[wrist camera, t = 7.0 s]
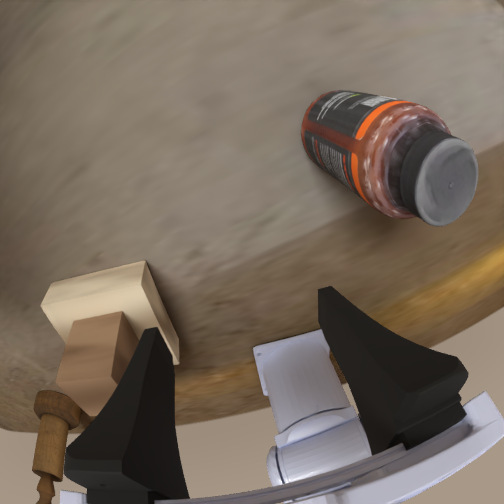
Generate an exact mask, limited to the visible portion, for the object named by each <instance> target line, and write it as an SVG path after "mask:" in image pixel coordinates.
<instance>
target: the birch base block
mask: <svg viewBox="0 0 504 504" xmlns="http://www.w3.org/2000/svg"><path fill="white" fill-rule="evenodd" d="M40 306H41V308H42V309H43V311H44V313H45V314H46V316H47V317H48V319H49V320H50V322H51V323H52V325H53V326H54V328H55V329H56V330H57V332H58V333H59V335H60V336H61V338H62V339H63V340H64V342H65V343H67V339H68V336H69V333H70V330H71V327H72V324H73V321H75V320H80V319H85V318H90V317H95V316H100V315H105V314H109V313H114V312H119V311H123V313H124V315H125V317H126V319H127V320H128V322H129V324H130V325H131V327H132V329H133V331H134V332H135V334H136V336H137V337H138V339H139V340H140V338H141V336H142V334H143V331H144V330H145V329H148V328H153V327H158V329H159V331H160V333H161V335H162V336H163V338H164V340H165V342H166V344H167V346H168V348H169V350H170V352H171V353H172V355H173V364H174V365H177V364H179V338H178V336H177V334H176V332H175V330H174V327H173V325H172V323H171V321H170V319H169V316H168V314H167V312H166V309H165V307H164V305H163V303H162V300H161V298H160V295H159V293H158V291H157V288H156V286H155V283H154V281H153V279H152V276H151V274H150V271H149V269H148V266H147V263H146V261H145V260H144V261H140V262H136V263H132V264H127V265H123V266H119V267H115V268H111V269H106V270H102V271H98V272H94V273H90V274H86V275H81V276H77V277H73V278H69V279H65V280H61V281H57V282H53V283H51V285H50V287H49V289H48V291H47V293H46V295H45V297H44V299H43V301H42V303H41V305H40Z"/></svg>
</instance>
